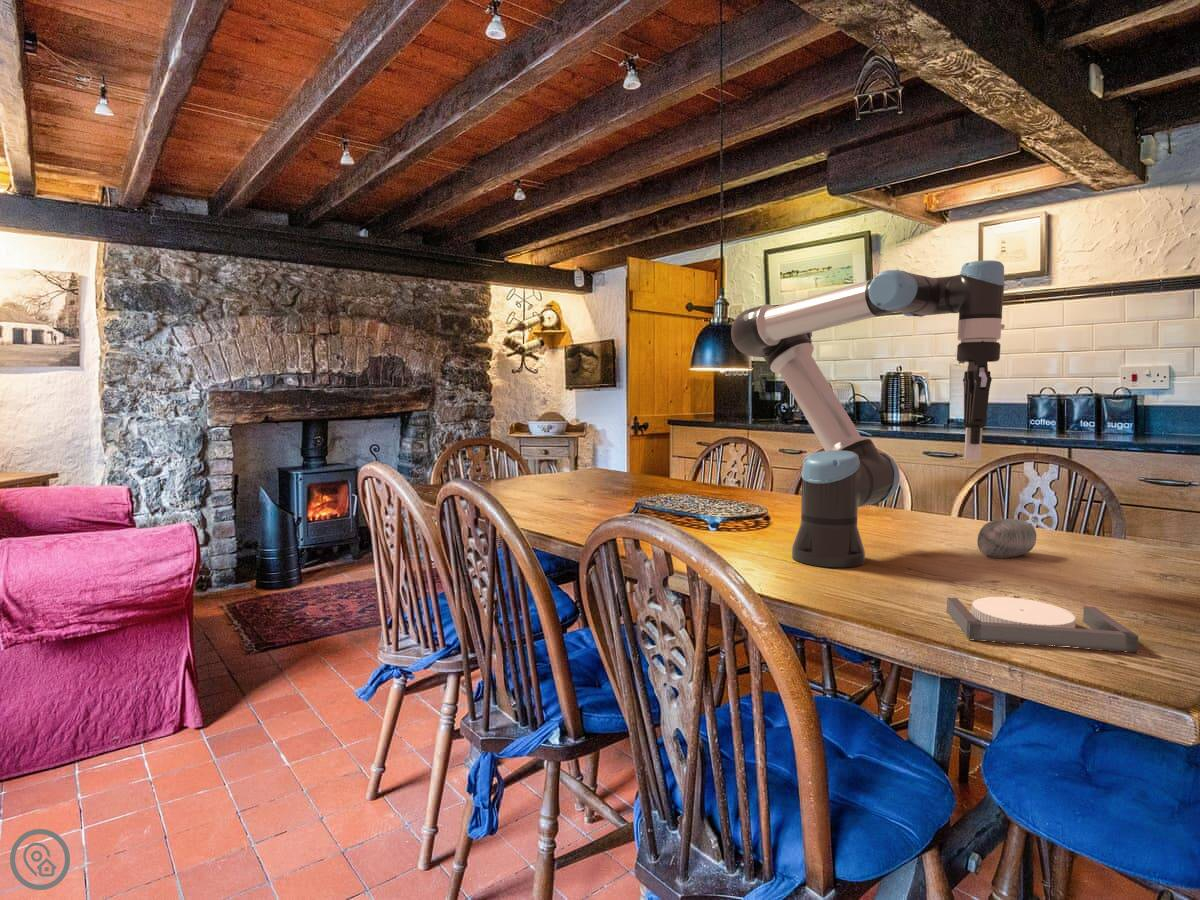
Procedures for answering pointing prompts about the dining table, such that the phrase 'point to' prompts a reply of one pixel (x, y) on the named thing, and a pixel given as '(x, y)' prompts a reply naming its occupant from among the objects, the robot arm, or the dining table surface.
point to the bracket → (1049, 631)
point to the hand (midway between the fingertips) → (972, 460)
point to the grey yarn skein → (1006, 538)
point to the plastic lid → (1021, 612)
